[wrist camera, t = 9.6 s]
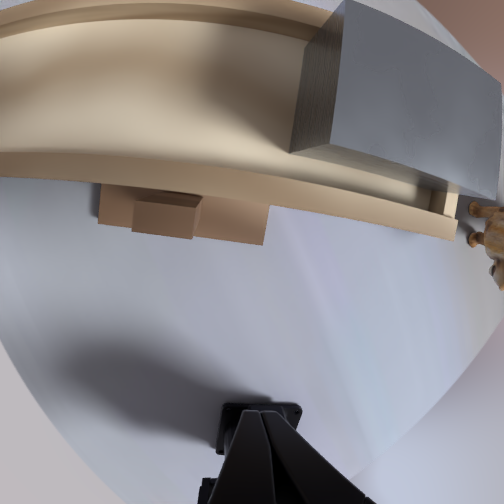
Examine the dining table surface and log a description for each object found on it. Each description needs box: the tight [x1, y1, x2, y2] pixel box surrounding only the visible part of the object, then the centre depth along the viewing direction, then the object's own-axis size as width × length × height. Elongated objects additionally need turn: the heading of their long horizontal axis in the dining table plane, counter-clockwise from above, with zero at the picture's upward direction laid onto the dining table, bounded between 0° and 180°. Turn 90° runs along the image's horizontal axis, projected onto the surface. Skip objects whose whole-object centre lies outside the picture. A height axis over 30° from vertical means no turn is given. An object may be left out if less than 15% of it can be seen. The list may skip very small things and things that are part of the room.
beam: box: [0, 0, 459, 241], centre depth 10 cm, size 8×25×3 cm, turn 81°
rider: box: [288, 0, 502, 201], centre depth 9 cm, size 5×7×4 cm
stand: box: [98, 183, 270, 246], centre depth 13 cm, size 14×10×7 cm
